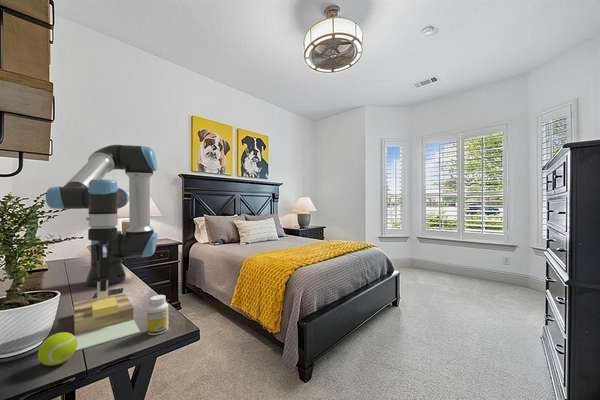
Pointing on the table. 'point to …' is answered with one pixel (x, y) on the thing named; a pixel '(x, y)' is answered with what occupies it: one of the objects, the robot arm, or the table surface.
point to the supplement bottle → (157, 315)
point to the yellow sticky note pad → (104, 307)
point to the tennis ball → (57, 349)
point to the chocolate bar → (112, 292)
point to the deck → (88, 323)
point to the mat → (106, 334)
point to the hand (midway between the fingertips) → (102, 300)
